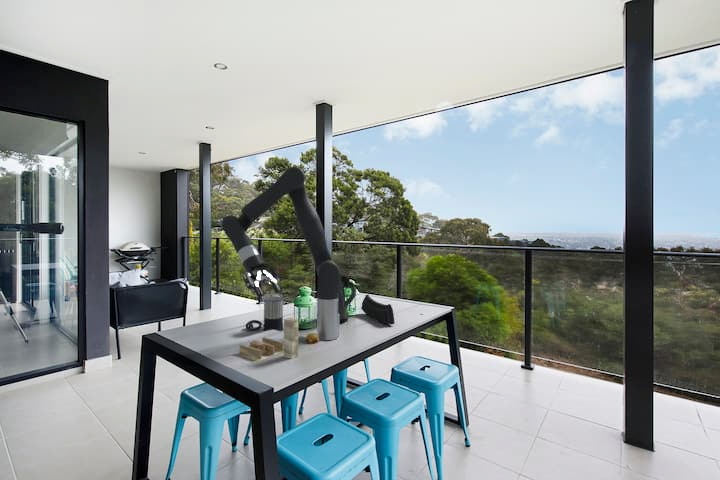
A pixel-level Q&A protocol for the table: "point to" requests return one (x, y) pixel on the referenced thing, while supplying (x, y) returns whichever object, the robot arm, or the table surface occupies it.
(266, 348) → the pine rack
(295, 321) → the tall birch block
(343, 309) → the beer stein
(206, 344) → the table surface
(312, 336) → the hamburger
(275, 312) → the milk frother
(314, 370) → the table surface
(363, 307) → the magazine
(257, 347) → the offcut stack
